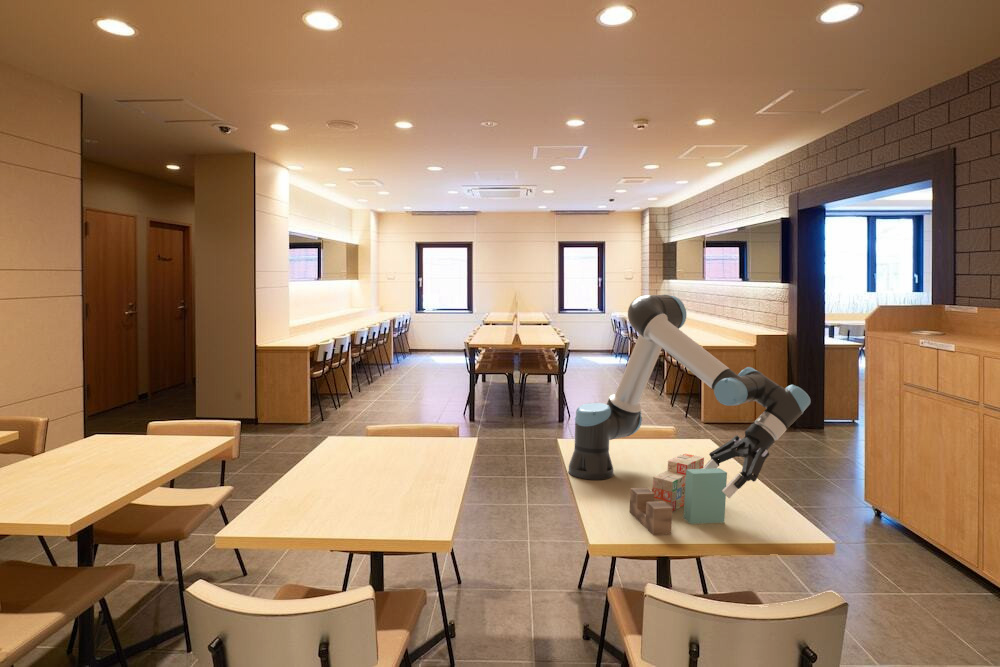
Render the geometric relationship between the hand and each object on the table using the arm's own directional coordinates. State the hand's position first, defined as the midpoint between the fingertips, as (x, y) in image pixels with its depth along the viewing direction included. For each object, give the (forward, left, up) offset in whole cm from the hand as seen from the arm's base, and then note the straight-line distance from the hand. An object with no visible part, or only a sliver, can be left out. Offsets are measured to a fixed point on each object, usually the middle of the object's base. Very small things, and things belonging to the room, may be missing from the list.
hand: (712, 486), depth 170 cm
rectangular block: (0, -2, -10) cm, 10 cm away
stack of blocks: (-15, -2, -10) cm, 18 cm away
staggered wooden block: (0, -18, -10) cm, 20 cm away
